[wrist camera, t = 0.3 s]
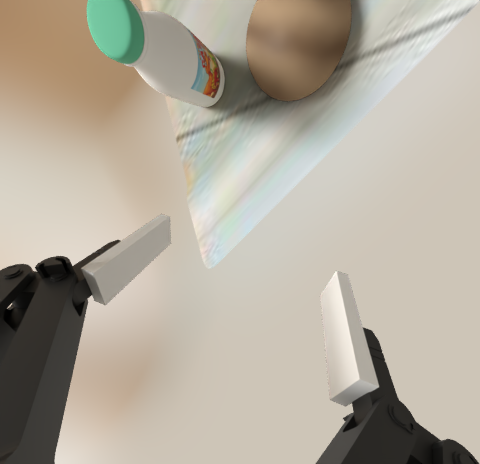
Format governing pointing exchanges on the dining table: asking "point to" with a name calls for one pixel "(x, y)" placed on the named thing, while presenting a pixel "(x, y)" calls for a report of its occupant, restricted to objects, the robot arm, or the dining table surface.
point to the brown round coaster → (296, 44)
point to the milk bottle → (157, 50)
